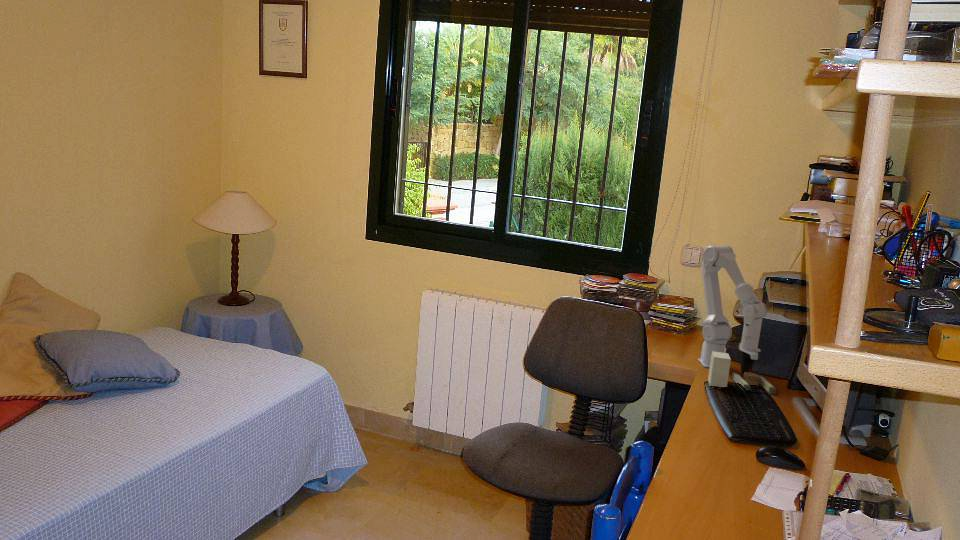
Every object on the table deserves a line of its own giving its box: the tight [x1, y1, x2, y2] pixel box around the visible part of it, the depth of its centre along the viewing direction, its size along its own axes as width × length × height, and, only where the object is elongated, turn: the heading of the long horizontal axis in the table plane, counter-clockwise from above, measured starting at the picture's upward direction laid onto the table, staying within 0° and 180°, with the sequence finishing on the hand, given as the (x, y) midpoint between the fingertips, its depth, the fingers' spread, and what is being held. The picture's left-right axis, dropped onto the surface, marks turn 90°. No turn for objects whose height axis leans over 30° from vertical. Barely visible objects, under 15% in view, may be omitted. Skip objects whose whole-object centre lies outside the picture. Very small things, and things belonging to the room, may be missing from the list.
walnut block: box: [742, 372, 760, 387], centre depth 275 cm, size 4×4×4 cm
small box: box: [707, 351, 732, 388], centre depth 269 cm, size 8×6×10 cm
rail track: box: [731, 372, 777, 396], centre depth 272 cm, size 15×10×2 cm, turn 0°
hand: (744, 373), depth 281 cm, fingers closed
